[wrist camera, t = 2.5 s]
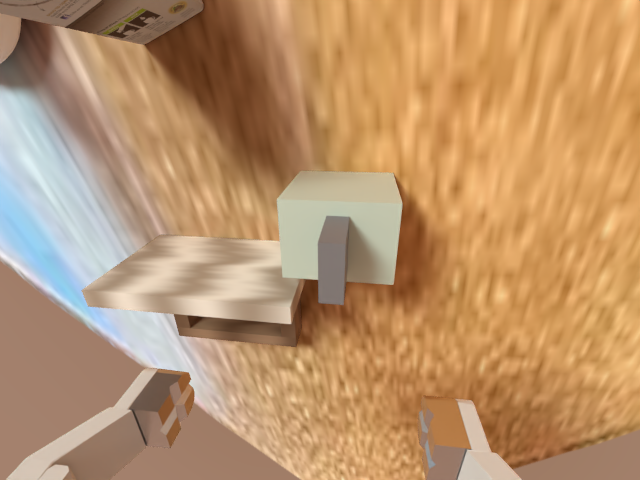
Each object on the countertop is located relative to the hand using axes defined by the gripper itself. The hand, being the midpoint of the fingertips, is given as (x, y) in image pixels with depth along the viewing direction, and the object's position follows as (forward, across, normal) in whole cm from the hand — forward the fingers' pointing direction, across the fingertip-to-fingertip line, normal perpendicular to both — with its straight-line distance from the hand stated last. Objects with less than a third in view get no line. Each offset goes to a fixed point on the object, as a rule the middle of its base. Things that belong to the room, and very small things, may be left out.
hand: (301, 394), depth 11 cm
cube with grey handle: (+20, 0, 0) cm, 20 cm away
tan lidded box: (+20, +10, +9) cm, 24 cm away
